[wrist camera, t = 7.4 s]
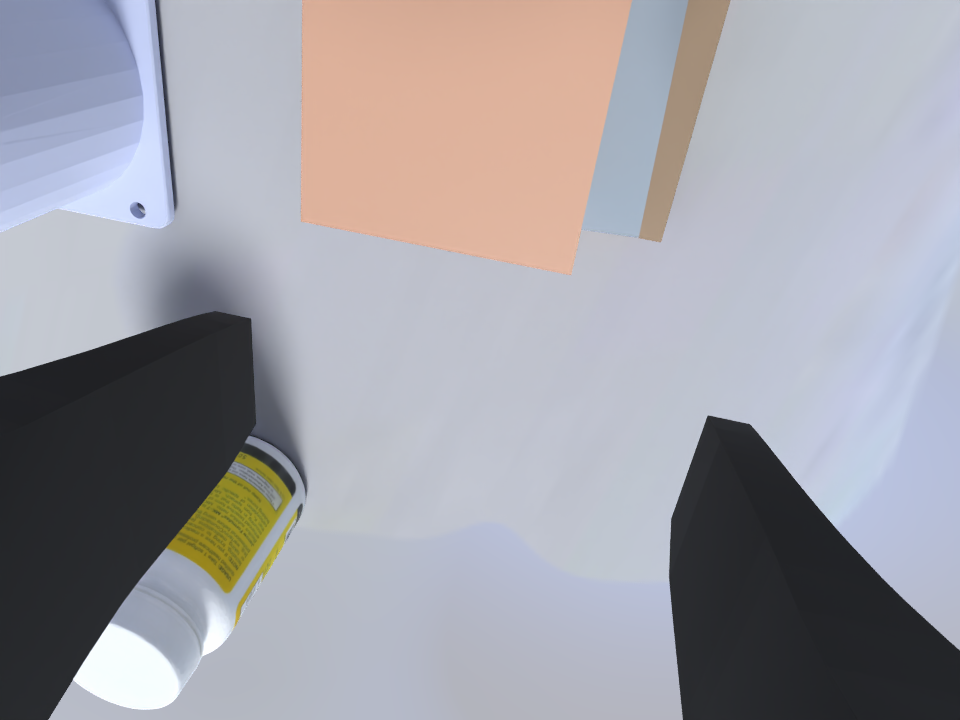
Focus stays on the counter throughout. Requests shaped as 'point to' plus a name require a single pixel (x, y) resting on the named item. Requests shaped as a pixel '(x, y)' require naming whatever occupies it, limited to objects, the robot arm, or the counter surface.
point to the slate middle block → (635, 117)
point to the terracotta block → (457, 121)
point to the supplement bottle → (198, 583)
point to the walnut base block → (682, 108)
